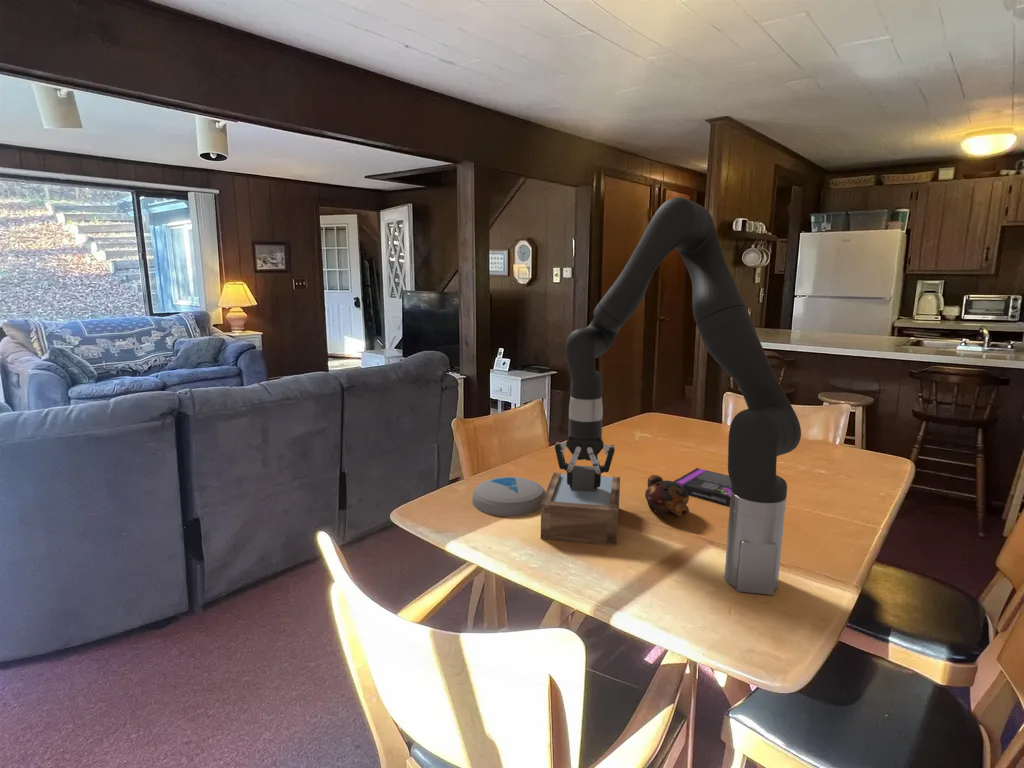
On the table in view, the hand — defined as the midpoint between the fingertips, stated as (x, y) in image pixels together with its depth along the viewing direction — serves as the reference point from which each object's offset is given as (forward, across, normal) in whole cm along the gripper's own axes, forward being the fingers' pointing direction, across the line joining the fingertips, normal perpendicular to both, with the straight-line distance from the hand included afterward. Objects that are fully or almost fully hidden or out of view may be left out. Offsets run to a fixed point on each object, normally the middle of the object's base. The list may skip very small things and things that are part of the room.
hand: (583, 487), depth 135 cm
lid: (+1, 0, 0) cm, 1 cm away
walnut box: (+7, 0, -3) cm, 8 cm away
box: (+8, +33, +22) cm, 41 cm away
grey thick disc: (+8, -19, +6) cm, 21 cm away
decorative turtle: (+8, +19, +6) cm, 21 cm away
